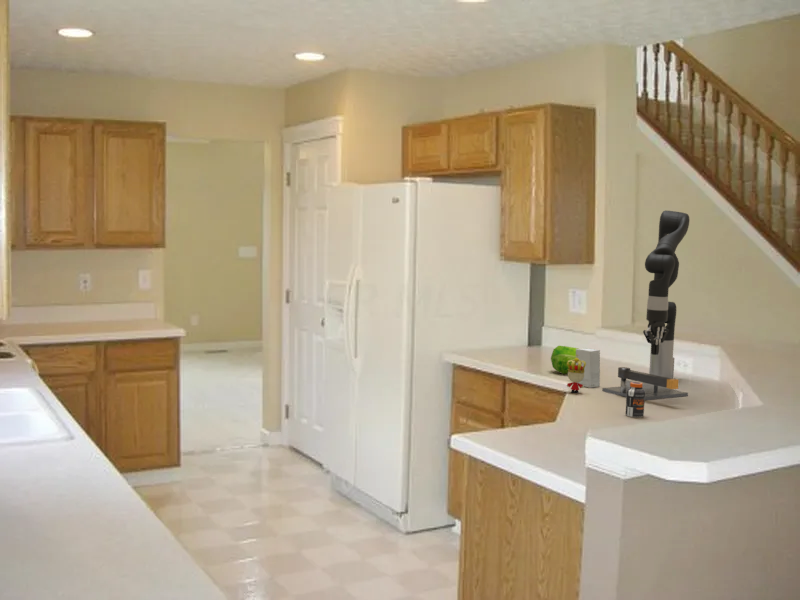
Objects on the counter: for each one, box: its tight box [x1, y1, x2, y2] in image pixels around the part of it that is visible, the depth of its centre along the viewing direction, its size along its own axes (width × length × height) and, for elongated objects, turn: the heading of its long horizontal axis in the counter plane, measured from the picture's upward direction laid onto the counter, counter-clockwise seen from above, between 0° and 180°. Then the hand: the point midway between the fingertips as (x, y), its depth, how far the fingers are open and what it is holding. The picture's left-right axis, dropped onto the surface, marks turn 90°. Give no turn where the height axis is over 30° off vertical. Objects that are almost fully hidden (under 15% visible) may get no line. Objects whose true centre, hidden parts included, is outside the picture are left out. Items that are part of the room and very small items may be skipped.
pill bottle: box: [625, 382, 646, 418], centre depth 298 cm, size 6×6×11 cm
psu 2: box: [654, 385, 671, 392], centre depth 344 cm, size 7×9×4 cm
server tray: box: [601, 378, 689, 401], centre depth 341 cm, size 25×20×7 cm
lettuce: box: [550, 345, 580, 375], centre depth 383 cm, size 14×20×12 cm
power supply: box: [626, 379, 654, 393], centre depth 339 cm, size 7×9×4 cm
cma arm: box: [617, 366, 679, 390], centre depth 325 cm, size 27×4×4 cm, turn 31°
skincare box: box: [576, 347, 601, 388], centre depth 353 cm, size 8×6×15 cm
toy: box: [566, 355, 586, 394], centre depth 337 cm, size 7×7×15 cm
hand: (654, 354), depth 330 cm, fingers closed
